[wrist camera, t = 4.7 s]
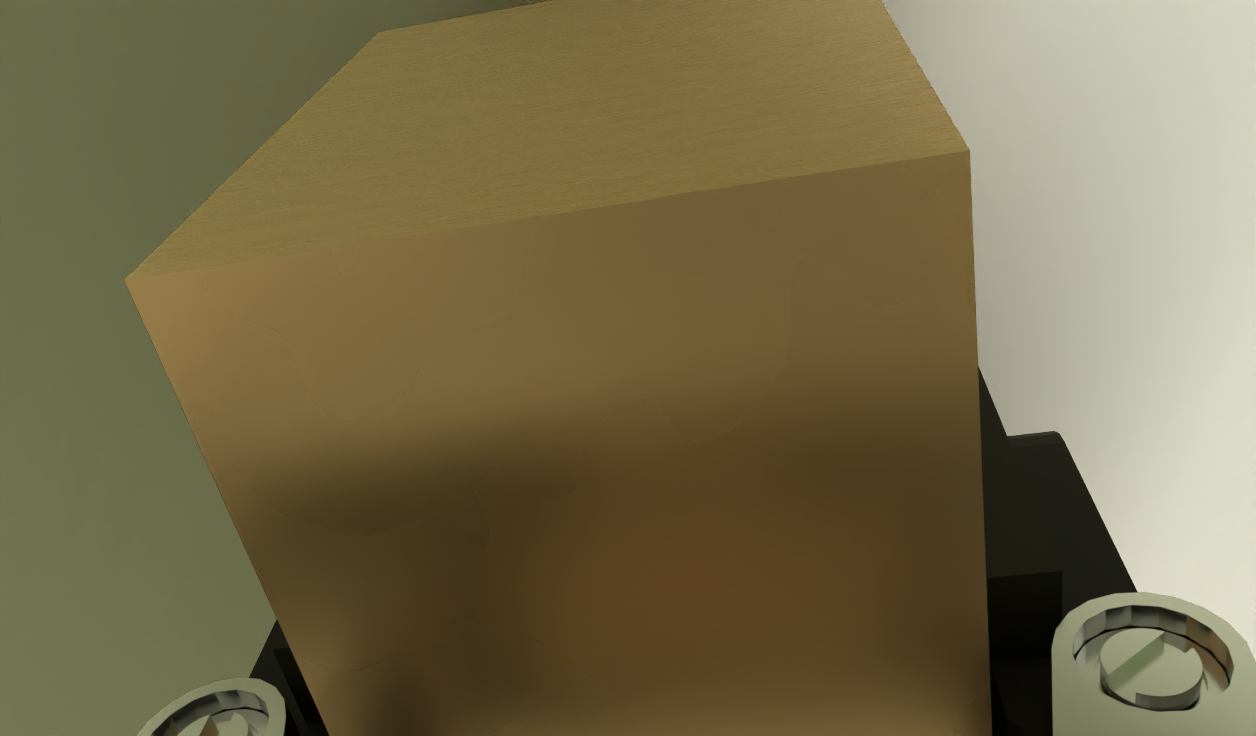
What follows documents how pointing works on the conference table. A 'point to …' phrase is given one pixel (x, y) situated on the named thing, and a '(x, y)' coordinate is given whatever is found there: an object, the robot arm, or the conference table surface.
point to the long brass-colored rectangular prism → (603, 377)
